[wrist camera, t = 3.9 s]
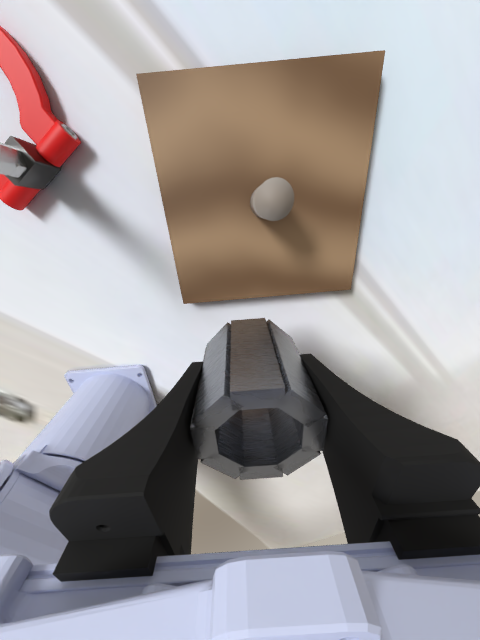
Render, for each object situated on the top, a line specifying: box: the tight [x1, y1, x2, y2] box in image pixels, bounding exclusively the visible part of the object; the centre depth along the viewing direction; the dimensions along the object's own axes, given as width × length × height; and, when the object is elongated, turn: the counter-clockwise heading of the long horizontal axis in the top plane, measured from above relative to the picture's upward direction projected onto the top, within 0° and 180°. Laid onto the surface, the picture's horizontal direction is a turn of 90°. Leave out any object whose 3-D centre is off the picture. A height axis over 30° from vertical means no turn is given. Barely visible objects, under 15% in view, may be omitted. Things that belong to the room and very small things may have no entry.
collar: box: [190, 318, 328, 480], centre depth 11 cm, size 5×5×6 cm
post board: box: [136, 50, 385, 304], centre depth 14 cm, size 14×14×6 cm
